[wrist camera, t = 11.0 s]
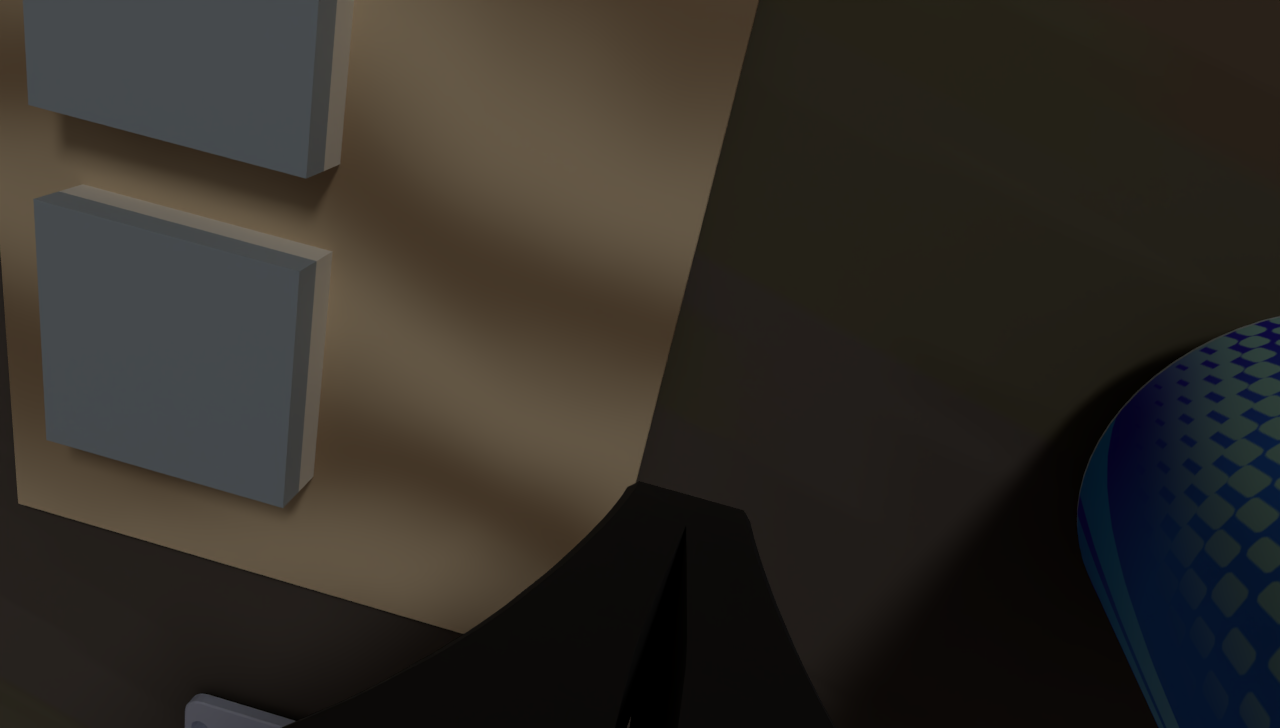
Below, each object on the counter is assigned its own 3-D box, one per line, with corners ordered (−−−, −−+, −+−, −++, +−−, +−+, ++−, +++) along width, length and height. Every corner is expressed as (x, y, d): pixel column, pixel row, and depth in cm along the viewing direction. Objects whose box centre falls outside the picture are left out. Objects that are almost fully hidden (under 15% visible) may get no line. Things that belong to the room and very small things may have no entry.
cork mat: (590, 659, 25) (587, 670, 24) (29, 495, 26) (18, 503, 25) (845, -337, 16) (846, -344, 15) (-37, -532, 17) (-56, -543, 16)
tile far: (282, 508, 22) (46, 439, 22) (313, 476, 23) (89, 412, 24) (299, 271, 20) (33, 199, 20) (332, 251, 21) (82, 184, 21)
